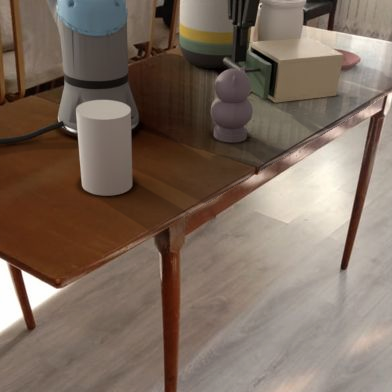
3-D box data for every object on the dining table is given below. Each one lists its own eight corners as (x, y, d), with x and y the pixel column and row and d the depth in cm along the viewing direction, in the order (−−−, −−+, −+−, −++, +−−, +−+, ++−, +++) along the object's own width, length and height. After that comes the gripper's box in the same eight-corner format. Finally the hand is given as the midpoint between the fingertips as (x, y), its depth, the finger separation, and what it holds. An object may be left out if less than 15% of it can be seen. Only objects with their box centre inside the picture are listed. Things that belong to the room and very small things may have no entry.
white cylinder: (133, 173, 105) (131, 100, 97) (131, 196, 99) (129, 120, 91) (84, 172, 104) (78, 98, 96) (79, 194, 98) (72, 118, 90)
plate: (290, 63, 155) (291, 55, 154) (321, 52, 164) (323, 44, 162) (339, 77, 148) (340, 69, 147) (369, 66, 157) (371, 57, 155)
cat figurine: (214, 124, 123) (218, 60, 115) (254, 130, 121) (260, 65, 114) (204, 141, 116) (207, 73, 109) (245, 147, 115) (252, 79, 107)
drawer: (242, 101, 131) (245, 67, 126) (217, 82, 139) (219, 49, 135) (321, 92, 137) (326, 59, 133) (292, 74, 146) (296, 43, 141)
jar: (296, 61, 157) (305, -7, 147) (297, 74, 149) (307, 3, 140) (254, 57, 158) (260, -10, 148) (253, 70, 150) (259, 0, 140)
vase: (259, 71, 150) (271, -47, 134) (193, 76, 144) (198, -45, 129) (230, 50, 161) (238, -60, 146) (168, 55, 156) (170, -59, 141)
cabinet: (274, 102, 134) (280, 60, 128) (245, 82, 143) (249, 41, 137) (336, 95, 139) (343, 54, 133) (304, 76, 148) (310, 37, 142)
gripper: (282, -69, 113) (269, 68, 128) (249, -80, 122) (240, 50, 137) (245, -68, 111) (236, 72, 126) (214, -78, 119) (209, 53, 135)
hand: (238, 60), depth 132 cm, fingers closed
